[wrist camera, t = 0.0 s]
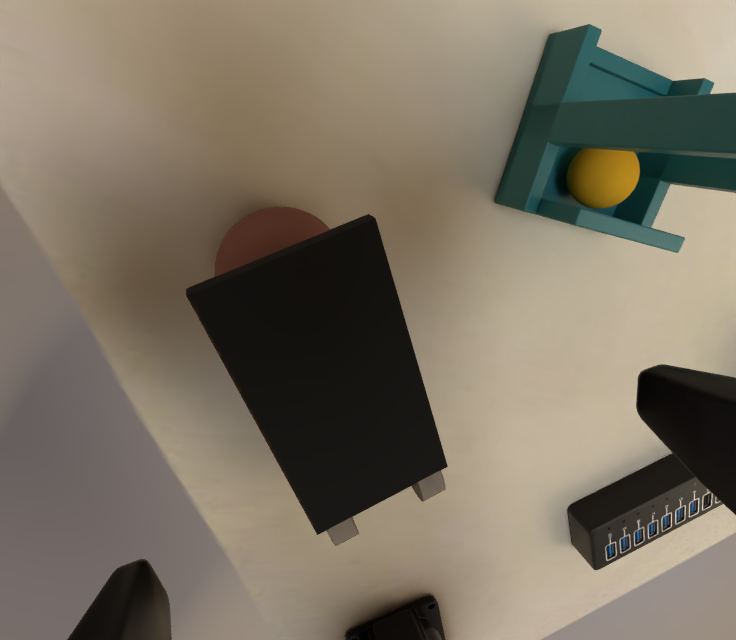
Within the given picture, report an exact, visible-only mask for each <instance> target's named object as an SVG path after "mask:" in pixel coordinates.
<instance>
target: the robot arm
mask: <svg viewBox="0 0 736 640" xmlns="http://www.w3.org/2000/svg"><path fill="white" fill-rule="evenodd" d="M636 408H637V412H638V414H639V416H640V417H641V419H642V420H643V421H644V422H645V423H646V424H647V425H648V427H649V428H650V429H651V430H652V431H653V432H654V433H655V434H656V435H657V436H658V437H659V438H660V440H661V441H662V442H663V443H664V444H665V445H666V446H667V447H668V448H669V449H670V450H671V451H672V452H673V454H674V455H675V456H676V457H677V458H678V459H679V460H680V461H681V462H682V463H683V464H684V465H685V467H686V468H687V469H688V470H689V471H690V472H691V473H692V474H693V475H694V476H695V477H696V478H697V479H698V480H699V481H700V482H701V483H702V484H703V485H704V486H705V487H706V488H707V489H708V490H709V491H710V492H711V493H712V494H713V495H714V496H715V497H717V498H718V499H719V500H720V501H721V502H722V503H723V504H724V505H725V506H726V507H728V508H729V509H730V510H731V511H732V512H733V513H734V514H735V515H736V378H734V377H729V376H724V375H718V374H713V373H707V372H702V371H696V370H691V369H686V368H680V367H675V366H669V365H656V366H654V367H651V368H648V369H646V370H643V371H642V372H641V373H640V374H639V376H638V386H637V401H636ZM345 639H346V640H445V636H444V631H443V626H442V621H441V617H440V612H439V607H438V603H437V601H436V599H435V597H434V596H428V597H426V598H424V599H421V600H419V601H417V602H414V603H412V604H410V605H408V606H405V607H403V608H401V609H398V610H396V611H394V612H392V613H389V614H387V615H385V616H382V617H380V618H378V619H376V620H373V621H371V622H369V623H366V624H364V625H362V626H360V627H357V628H355V629H353V630H351V631H349V632H348V633H347V634H346V635H345ZM67 640H172V638H171V618H170V604H169V599H168V595H167V593H166V590H165V588H164V587H163V585H162V583H161V582H160V580H159V578H158V576H157V575H156V573H155V571H154V570H153V568H152V566H151V564H150V563H149V562H148V561H147V560H145V559H140V560H137V561H134V562H132V563H129V564H126V565H123V566H121V567H119V568H117V569H116V570H115V571H114V572H113V574H112V575H111V576H110V578H109V579H108V581H107V582H106V584H105V585H104V587H103V588H102V590H101V591H100V593H99V594H98V595H97V597H96V598H95V600H94V602H93V603H92V605H91V606H90V607H89V609H88V610H87V612H86V613H85V614H84V616H83V617H82V619H81V620H80V622H79V623H78V625H77V626H76V628H75V629H74V631H73V632H72V634H71V635H70V636H69V638H68V639H67Z"/></svg>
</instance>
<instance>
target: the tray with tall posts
mask: <svg viewBox="0 0 736 640" xmlns="http://www.w3.org/2000/svg"><path fill="white" fill-rule="evenodd" d="M600 34H601V29H599V28H596V27H594V26H592V25H590V24H588V25H584V26H581V27H577V28H573V29H569V30H565V31H561V32H557V33H553V34H550V36H549V39H548V42H547V45H546V48H545V51H544V54H543V57H542V60H541V63H540V66H539V69H538V72H537V75H536V78H535V81H534V84H533V87H532V90H531V93H530V96H529V99H528V102H527V105H526V108H525V111H524V114H523V117H522V120H521V123H520V126H519V129H518V132H517V135H516V138H515V141H514V144H513V147H512V150H511V153H510V156H509V159H508V162H507V165H506V168H505V171H504V174H503V177H502V180H501V183H500V186H499V189H498V192H497V195H496V198H495V203H497V204H501V205H504V206H508V207H511V208H515V209H518V210H522V211H525V212H529V213H533V214H537V215H540V216H544V217H547V218H551V219H554V220H558V221H561V222H565V223H568V224H572V225H575V226H579V227H583V228H587V229H590V230H594V231H598V232H601V233H605V234H609V235H613V236H616V237H620V238H624V239H628V240H631V241H635V242H639V243H642V244H646V245H650V246H654V247H657V248H661V249H665V250H669V251H672V252H676V253H677V252H679V250H680V248H681V246H682V244H683V242H684V240H685V238H684V237H681V236H678V235H674V234H671V233H667V232H664V231H660V230H657V229H653V228H651V227H652V225H653V222H654V220H655V218H656V215H657V213H658V211H659V209H660V206H661V204H662V202H663V200H664V197H665V195H666V193H667V190H668V188H669V186H670V184H674V185H682V186H689V187H696V188H704V189H711V190H719V191H726V192H734V193H736V93H722V94H710V92H711V90H712V88H713V85H714V83H713V82H711V81H709V80H707V79H705V78H702V79H691V80H679V81H672V80H670V79H667V78H665V77H663V76H661V75H659V74H656V73H654V72H652V71H650V70H648V69H645V68H643V67H641V66H639V65H637V64H634V63H632V62H630V61H628V60H626V59H623V58H621V57H619V56H617V55H614V54H612V53H610V52H608V51H606V50H603V49H601V48H599V47H597V46H596V45H597V42H598V40H599V37H600ZM583 148H590V149H605V150H619V151H633V152H634V153H635V154H636V156H637V158H638V161H639V165H640V175H639V179H638V182H637V185H636V187H635V188H634V190H633V191H632V193H631V194H630V195H629V196H628V197H627V198H626V199H625V200H623V201H622V202H620V203H619V204H617V205H614V206H612V207H608V208H603V209H594V208H589V207H586V206H583V205H582V204H580V203H578V202H577V201H576V200H575V199H574V198H573V197H572V195H571V194H570V192H569V190H568V186H567V171H568V168H569V165H570V163H571V161H572V159H573V158H574V157H575V155H576V154H577V153H578V152H579V151H580V150H582V149H583Z"/></svg>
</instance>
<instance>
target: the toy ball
mask: <svg viewBox="0 0 736 640" xmlns="http://www.w3.org/2000/svg"><path fill="white" fill-rule="evenodd" d="M639 175H640V165H639V161H638V158H637V156H636V154H635V153H634V152H633V151H619V150H605V149H590V148H583V149H582V150H580V151H579V152H578V153H577V154H576V155H575V157H574V158H573V159H572V161H571V163H570V165H569V168H568V171H567V186H568V190H569V192H570V194H571V195H572V197H573V198H574V199H575V200H576V201H577V202H578V203H580V204H582V205H583V206H586V207H589V208H594V209H603V208H608V207H612V206H614V205H617V204H619V203H620V202H622V201H623V200H625V199H626V198H627V197H628V196H629V195H630V194H631V193H632V191H633V190H634V188H635V187H636V185H637V182H638V179H639Z"/></svg>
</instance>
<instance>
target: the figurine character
mask: <svg viewBox="0 0 736 640" xmlns="http://www.w3.org/2000/svg"><path fill="white" fill-rule="evenodd" d="M186 296H187V298H188V300H189V301H190V303H191V305H192V307H193V309H194V311H195V312H196V314H197V316H198V318H199V320H200V321H201V323H202V325H203V327H204V329H205V331H206V332H207V334H208V336H209V338H210V340H211V342H212V343H213V345H214V347H215V349H216V351H217V352H218V354H219V356H220V358H221V360H222V362H223V363H224V365H225V367H226V369H227V371H228V373H229V374H230V376H231V378H232V380H233V382H234V384H235V385H236V387H237V389H238V391H239V393H240V394H241V396H242V398H243V400H244V402H245V404H246V405H247V407H248V409H249V411H250V413H251V415H252V416H253V418H254V420H255V422H256V424H257V425H258V427H259V429H260V431H261V433H262V435H263V436H264V438H265V440H266V442H267V444H268V446H269V447H270V449H271V451H272V453H273V455H274V457H275V458H276V460H277V462H278V464H279V466H280V467H281V469H282V471H283V473H284V475H285V477H286V478H287V480H288V482H289V484H290V486H291V488H292V489H293V491H294V493H295V495H296V497H297V498H298V500H299V502H300V504H301V506H302V508H303V509H304V511H305V513H306V515H307V517H308V519H309V520H310V522H311V524H312V526H313V528H314V529H315V531H316V533H317V535H318V534H320V533H322V532H324V531H326V530H327V532H328V534H329V536H330V538H331V540H332V542H333V543H334V545H335V546H337V545H339V544H341V543H343V542H345V541H347V540H348V539H350V538H352V537H354V536H356V535H358V534H359V532H358V530H357V527H356V525H355V522H354V520H353V516H355V515H356V514H358V513H360V512H362V511H364V510H366V509H368V508H370V507H372V506H374V505H375V504H377V503H379V502H381V501H383V500H385V499H387V498H389V497H391V496H393V495H394V494H396V493H398V492H400V491H402V490H404V489H406V488H408V487H410V486H412V488H413V489H414V491H415V493H416V494H417V496H418V497H419V499H420V500H421V501H425V500H427V499H429V498H430V497H432V496H434V495H436V494H438V493H440V492H442V491H443V490H445V482H444V478H443V475H442V472H441V470H442V469H444V468H446V467H448V466H447V463H446V459H445V456H444V452H443V449H442V445H441V442H440V439H439V435H438V432H437V428H436V425H435V421H434V418H433V415H432V411H431V408H430V404H429V401H428V397H427V394H426V390H425V387H424V384H423V380H422V377H421V373H420V370H419V366H418V363H417V360H416V356H415V353H414V349H413V346H412V342H411V339H410V335H409V332H408V329H407V325H406V322H405V318H404V315H403V311H402V308H401V305H400V301H399V298H398V294H397V291H396V287H395V284H394V280H393V277H392V274H391V270H390V267H389V263H388V260H387V256H386V253H385V250H384V246H383V243H382V239H381V236H380V232H379V229H378V225H377V222H376V219H375V218H374V217H373V216H371V215H369V214H368V215H365V216H363V217H360V218H358V219H355V220H353V221H351V222H348V223H346V224H343V225H341V226H338V227H336V228H333V229H331V230H330V228H329V227H328V226H327V225H326V224H324V223H323V222H322V221H321V220H320V219H318V218H317V217H315V216H313V215H312V214H310V213H307V212H305V211H302V210H299V209H295V208H289V207H272V208H266V209H262V210H259V211H256V212H254V213H252V214H250V215H248V216H246V217H245V218H243V219H242V220H240V221H239V222H238V223H236V224H235V225H234V226H233V227H232V228H231V229H230V230H229V232H228V233H227V234H226V236H225V237H224V239H223V241H222V243H221V245H220V247H219V250H218V253H217V256H216V262H215V277H213V278H211V279H209V280H206V281H204V282H201V283H199V284H196V285H194V286H191V287H189V288H187V289H186Z"/></svg>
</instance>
